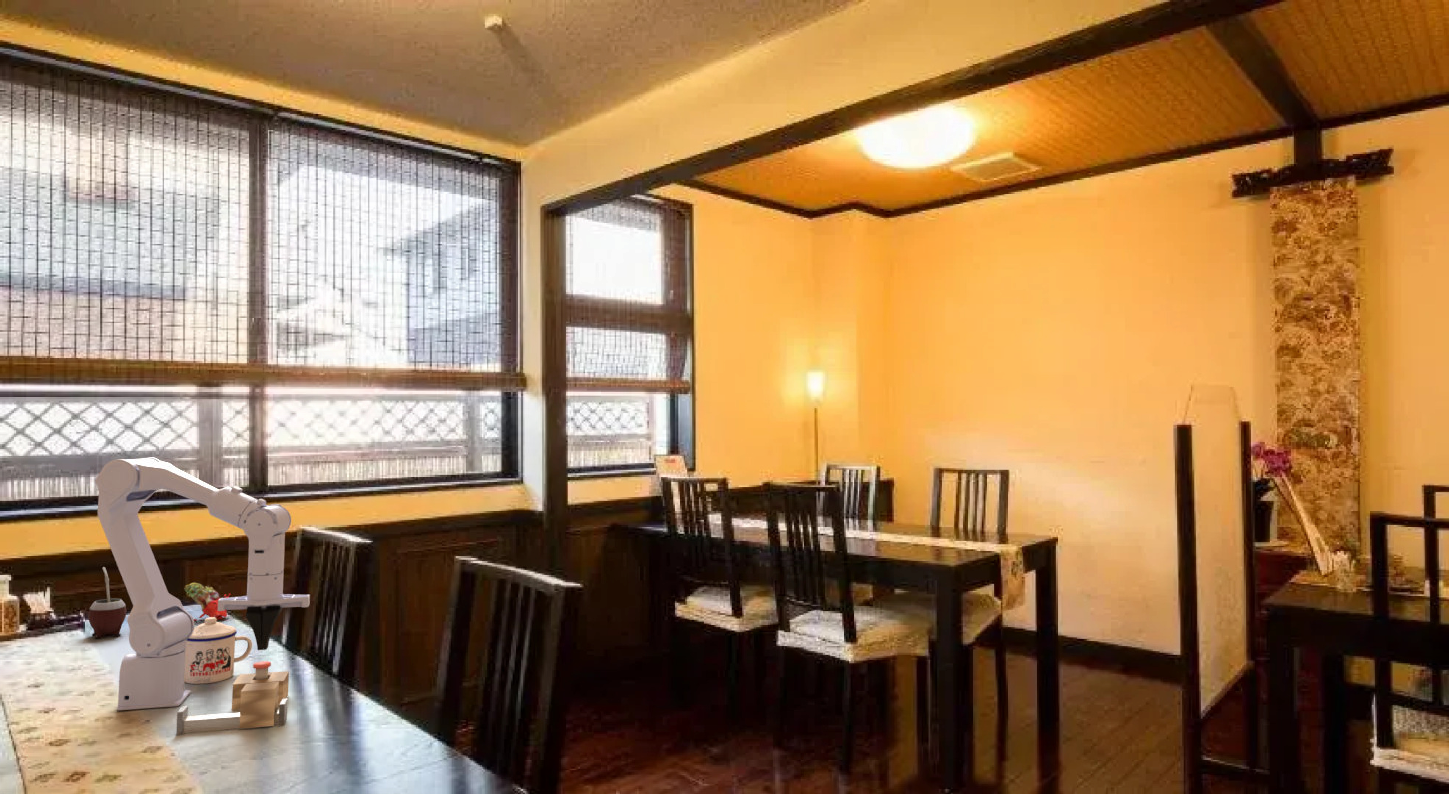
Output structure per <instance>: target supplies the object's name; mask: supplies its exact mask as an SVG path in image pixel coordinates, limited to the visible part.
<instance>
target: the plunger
mask: <svg viewBox="0 0 1449 794" xmlns="http://www.w3.org/2000/svg"><path fill="white" fill-rule="evenodd" d="M252 665H253V667H252V668H253V669H255V673H256V674H255V680H263V679H268V672H269V668H271V666H272V662H271V661H268V660H267V661H264V660H263V661H258V662H255V663H252Z"/></svg>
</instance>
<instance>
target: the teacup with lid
mask: <svg viewBox="0 0 1449 794" xmlns="http://www.w3.org/2000/svg"><path fill="white" fill-rule="evenodd" d="M236 641H245V642H247V643H246V644H247V648H246V650H245V652H244V653H243V654H242V655H240V656H238V657H235V651H236V650H235V648H236V647H235V646H236ZM252 648H253V642H252V639H250V638H249V637H248V636H246V635H237V629H236V627H234V626H232V625H226V624H224V623H222V622H220V621H217V619H216V618H215V617H209V616H208V617H207V618H205V619H204V622H202V623H200V624H198V625H197V626H195V627H194V631H193V633H192V635H191V636H190V637H189V638H188V639H187V640H186V649H185V673H184V683H186V684H190V685H191V684H193V685H204V684H205V685H206V684H211V683H212V684H213V683H218V682H219V683H220V682H221V681H225V680H228V679H230V678H232V676H234V672H235V663H239V662H241V661H243V660H245V659H246V658H247V657H248V656H249V655H250V653H251V651H252Z"/></svg>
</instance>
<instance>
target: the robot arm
mask: <svg viewBox="0 0 1449 794" xmlns="http://www.w3.org/2000/svg"><path fill="white" fill-rule="evenodd" d="M94 482H95V485H96V487H97V489H98V502H97V518H98V520H99V522H100V525H101V527H102V529H103V531H104V532H103V533H104V535H105V537H106V539H107V542H108V545H109V547H110V550H111V552H112V555H113V558H114V560H115V562H116V566H117V568H118V571H119V573H120V575H121V577H122V581H123V583H124V586H125V588H126V590H127V591H126V592H127V594H128V596H129V598H130V601H131V603H132V609H131V611H130V612H129V615H128V617H127V618H126V622H127V624H128V628H129V634H128V642H129V645H130V648H131V649H132V650H133V653H132V652H131V653H126V654H125V655H124V657H123V658H122V660H121V664H120V668H119V679H118V699H117V707H116V711H127V710H140V709H141V710H142V709H143V710H144V709H157V708H168V707H178V706H180V705H181V704H182V703H183V702H184V701H185V700H186V698H187V697H189V695H190V693H191V694H192V691H191V690H190V689H185V682H184V673H185V649H186V640H187V639H188V638H189V637H190V636H191V635H192V633H193V631H194V628H195V627H196V626H195V625H196V624H195V621H194V619H195V618H194V617H193V615H192V614H191V613H190V612H189V611H188V610H186V609H185V608H184V606H183V604H182V602H181V601H182V600H180V599H179V598H177V597H176V596H174V595H173V594H171V593H169V591H168V589H167V586H166V584H165V581H164V579H163V575H162V574H161V571H160V568H159V566H158V563H157V560H156V559H155V555H154V553H153V551H152V548H151V545H150V543H149V540H148V538H147V535H146V533H145V531H144V528H143V526H142V521H141V520H140V517H139V515H138V513H139V512H140V510H141V508H142V506H143V505H144V503H145V502H146V501H147V500H148V499H149V498H151V497H152V496H153V494H154V493H156V492H157V491H159V490H166V491H169V492H171V493H174V494H177V495H179V496H181V497H184V498H186V499H189V500H192V501H195V502H196V503H199V504H201V505H204V506H206V508H207V509H208V513H209V515H210V516H212V517H214V518H216V519H218V520H221V521H222V522H225V523H228V524H229V525H231V526H234V527H236V528H239V529H240V530H243V532H244V534H245V536H246V537H247V539H248V561H247V562H248V564H247V566H248V567H247V584H246V585H247V586H246V588H247V589H246V595H243V596H234V597H233V596H232V597H230V596H229V598H225V597H219V598H220V599H219V600H218V611H225V610H226V611H227V610H228V611H230V610H231V611H234V610H235V611H236V610H246V613H245V617H246V620H247V621H248V623H249V625H250V627H251V629H252V633H253V635H254V637H255V641H256V646H257V647H256V648H257V651H265V650H267V649H268V648H269V644H270V638H271V634H272V632H273V629H274V626H275V624H276V622H277V619H278V618H279V616H280V614H281V612H282V610H283V608H297V607H298V608H300V607H301V608H309V607H310V601H311V600H310V598H311V595H310V594H290V593H287V594H285V593H284V592H283V591H284V574H285V573H284V569H285V548H286V547H285V545H286V543H285V542H286V541H285V540H286V539H285V538H286V533H287V531H288V530H289V529H290V527H291V524H292V516H291V513H290V512H289V511H288V509H286V508H285V507H284V506H282V505H281V504H278V503H273V504H272V503H271V504H269V505H267V500H265V499H263V498H259V499H257V498H255V497H252V496H251V495H248V494H246V493H244V492H243V488H241V487H239V486H233V487H230V486H226V487H222V488H220V489H219V488H216V487H214V486H212V485H210V484H209V483H207V482H204V481H203V480H200V479H199V478H196V477H195V476H192V475H191V474H189V473H187V472H185V471H183V470H181V469H179V468H178V467H175V466H174V465H173V464H171V463H170V462H166V461H162V460H161V459H160V460H159V459H158V458H156V457H153V456H152V457H151V456H147V457H143V458H132V459H131V458H130V459H119V458H118V459H113V460H111V461H108V462H107V463H105V465H103V467H102V469H101V470H100V471H99V473H98V475H97V477H96V478H95V479H94Z"/></svg>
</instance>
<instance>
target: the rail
mask: <svg viewBox="0 0 1449 794" xmlns="http://www.w3.org/2000/svg"><path fill="white" fill-rule="evenodd" d="M288 699H289V698H288V697H287V698H286V699H282V701H281V703H280V704H279V707H278V710H275V717H274V726H278V727H285V725H286V722H287V720H288V701H289V700H288ZM274 726H273V727H274ZM239 728H240V712H231V713H230V712H229V713H216V714H215V713H214V714H206V715H205V714H204V715H190V716H189V705H183V706H181V707H180V709H179V710H178V711H177V713H176V731H175V732H176V736H177V735H178V736H180V735H183V734H189V733H191V734H192V733H202V732H214V731H228V730H237V729H239Z"/></svg>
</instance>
